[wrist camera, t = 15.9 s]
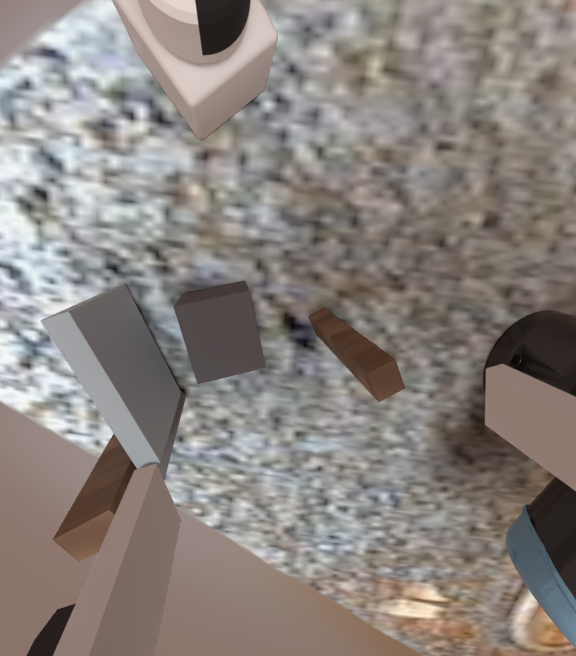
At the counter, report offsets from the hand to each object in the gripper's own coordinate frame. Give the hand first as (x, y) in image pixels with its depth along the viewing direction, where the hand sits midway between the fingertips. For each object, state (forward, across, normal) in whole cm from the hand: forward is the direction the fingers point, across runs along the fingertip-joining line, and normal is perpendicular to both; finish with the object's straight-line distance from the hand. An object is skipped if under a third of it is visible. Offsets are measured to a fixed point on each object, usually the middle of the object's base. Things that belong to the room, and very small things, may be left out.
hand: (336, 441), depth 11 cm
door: (+20, +13, 0) cm, 24 cm away
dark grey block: (+20, +5, -1) cm, 21 cm away
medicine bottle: (+20, +1, -21) cm, 29 cm away
